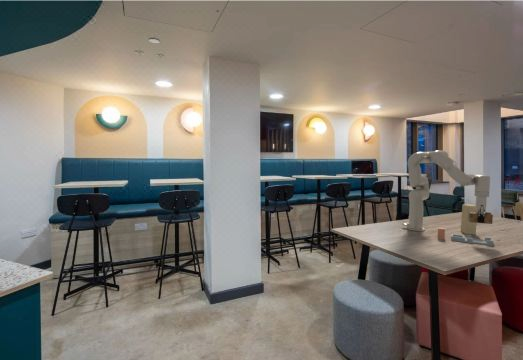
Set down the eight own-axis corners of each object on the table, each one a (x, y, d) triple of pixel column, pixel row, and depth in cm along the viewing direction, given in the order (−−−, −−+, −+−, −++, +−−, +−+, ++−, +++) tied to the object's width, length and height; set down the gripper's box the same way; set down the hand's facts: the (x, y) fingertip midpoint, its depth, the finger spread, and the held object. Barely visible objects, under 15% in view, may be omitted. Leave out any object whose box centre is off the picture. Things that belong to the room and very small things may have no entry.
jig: (451, 240, 189) (451, 235, 189) (450, 237, 196) (451, 232, 196) (494, 246, 177) (494, 241, 176) (492, 242, 184) (492, 237, 184)
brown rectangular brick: (437, 238, 193) (438, 228, 193) (437, 237, 196) (438, 227, 196) (444, 239, 191) (444, 229, 190) (444, 238, 194) (445, 228, 194)
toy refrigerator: (477, 234, 202) (479, 206, 201) (465, 234, 204) (467, 205, 202) (471, 231, 210) (473, 204, 208) (460, 231, 211) (462, 204, 210)
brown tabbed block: (470, 222, 183) (470, 211, 183) (468, 220, 188) (468, 210, 187) (492, 224, 178) (492, 213, 178) (489, 222, 183) (490, 211, 182)
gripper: (473, 192, 191) (472, 218, 192) (475, 195, 177) (474, 223, 178) (487, 193, 187) (486, 219, 188) (491, 195, 172) (489, 224, 174)
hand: (480, 221), depth 183 cm, fingers closed on brown tabbed block, 5 cm apart
